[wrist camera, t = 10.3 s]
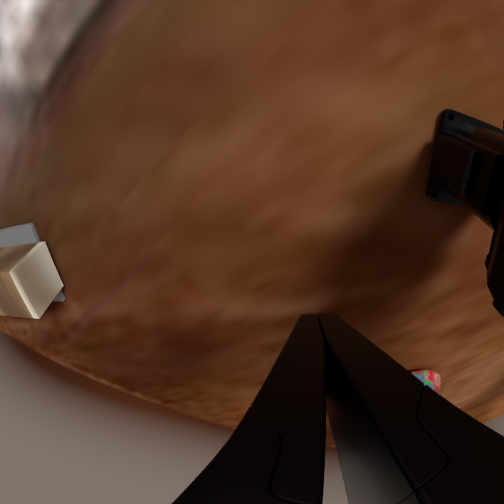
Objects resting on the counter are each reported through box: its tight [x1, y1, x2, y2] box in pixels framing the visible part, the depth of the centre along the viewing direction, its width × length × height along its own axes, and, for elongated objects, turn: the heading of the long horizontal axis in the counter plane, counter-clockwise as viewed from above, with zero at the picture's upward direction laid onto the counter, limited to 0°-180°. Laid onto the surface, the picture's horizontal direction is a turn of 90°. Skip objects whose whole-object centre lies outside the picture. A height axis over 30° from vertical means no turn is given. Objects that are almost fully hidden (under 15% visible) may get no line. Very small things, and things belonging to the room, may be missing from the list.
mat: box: [0, 222, 66, 301], centre depth 23 cm, size 11×8×1 cm
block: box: [0, 242, 64, 319], centre depth 21 cm, size 4×4×10 cm
